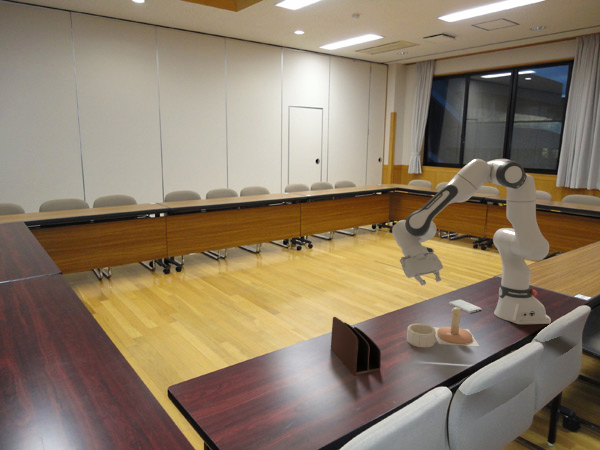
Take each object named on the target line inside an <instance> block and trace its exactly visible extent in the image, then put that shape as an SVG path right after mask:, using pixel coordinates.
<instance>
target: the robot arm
mask: <svg viewBox="0 0 600 450" xmlns="http://www.w3.org/2000/svg"><path fill="white" fill-rule="evenodd" d="M486 183H490V184H493V185H496V186H501V187H502V186H503V187H504V188H505V189H506V210H505V211H506V214H505V216H506V219H507V220H508V222H510V223H511V226H512V227H502V228H499V229H497V230H496V232H495V233H494V235H493V237H492V242H493V244H494V247H495V248H496V250H497V251H498V253H499V257H500V261H501V266H502V271H501V282H500V284H499V289H498V300H497V304H496V307H495V309H494V312H493V314H494V315H495V316H496V317H498V318H499V319H502V320H504V321H507V322H512V323H514V324H517V325H546V324H547V325H549V324H551V323H552V320H551V317H550V316H549V315H547V314H546V307H545V305H544V304H543V303H542V302H541V301H539V300H538V298H536V297H535V296H537V295H538V291H537V290H536V289H533V288H532V287H530V282H531V274H532V273H531V272H532V271H531V268H530V267H529V265H527V263H526V260H528V261H529V260H531V261H541V260H543V259H545V258H546V257H547V256H548V254H549V252H550V243H549V241H548V240H547V238H545V236H544V235H543V234H542V232H541V229H540V227H539V225H538V222H537V221H538V220H537V213H536V212H537V210H536V209H537V208H536V207H537V205H536V204H537V190H536V183H535V178H534V177H533V176H532V175H531V174H529V173H526V172H525V169H524V167H523V166H522V165H521V163H519V162H518V161H515V160H513V159H512V160H510V159H507V158H492V159H489V160H487V161H485V160H484V159H480V158H473V159H471V161H469V162H468V163H467V164H466V165H464V166H463V167H462V168H460V170H459V171H457V173H456V174H455V175H454V176H453V177H452V178H451V179H450V180H449V182H447V183H446V185H445V186H444V187H442V188H441V189H440V190H439V191H437V193H436V194H435V195H433V197H431V198H430V199H429V200H428V201H427V202H426V203H425V204H424V205H423V206H422V207H421V208H419V209H417V210H415V211H413V212H411V213H410V214H409V215H408V216H407V218H406V219H402V220H399V221H397V222H396V223H395V224H394V225H393V226H392V231H391V232H392V236H393V238H394V240H395V242H396V244H397V246H398V247H399V248H400V249H401V251H402V255H403V256H401V257H400V259H399V263H400V264H401V265H400V266H401V268H402V271H403V273H404V275H405V276H406V277H407V278H408V279H411V278H414V279H415V280H416V281H417V282H418V283H419V284H420V286H425V285H426V284H427V282H426V280H425V279H423V278H422V276H424V275H430V274H432V275H434V276H435V278H434V280H435V281H436V283H439V282H441V281H442V278H441V276H440V275H441V274H440V271H441V270H443V269H444V267H443V266H444V265H443V264H442V261H441V259H440V258H439V257H438V255H437V254H436V253H435V250H434V248H432V247H428V246H425V245H422V243H425V242H427V241H429V240H431V239H433V238H434V237H435V236H436V234H437V232H438V231H437V230H438V228H437V225H436V223H435V222H434V221H433V220H434V218H435V217H436V216H438V215H439V213H441V212H442V211H443V210H444V209H445V208H446V207H447V206H449V205H450V204H454V203H464V202H467V201H468V200H469V199H470V198H472V197H473V196H474V195H475V194H476V193H477V192H479V190H480V188H481V187H483V186H484V185H485V184H486Z"/></svg>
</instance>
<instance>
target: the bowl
mask: <svg viewBox="0 0 600 450" xmlns="http://www.w3.org/2000/svg"><path fill="white" fill-rule="evenodd" d="M433 327H434V326H431V325H429V324H426V323H411V324H409V325H408V326H407V329H406V341H407V343H408V344H410V345H411V346H414V347H418V348H431V347H433V346H434V345H436V344H435V343H436V337H435V335H436V331H435V329H434V328H433Z"/></svg>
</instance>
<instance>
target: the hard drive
mask: <svg viewBox="0 0 600 450" xmlns="http://www.w3.org/2000/svg"><path fill="white" fill-rule="evenodd" d="M448 305H449V306H452V307H454V306H455V307H458V308H459V309H460V310H461V311H464V312H466V313H468V314H472V313H476V311H477V312H479V310H481V311H482V310H483V308H482V307H480V306H478V305H474V304H472V303H470V302H468V301H465V300H463V299H456V300H451V301H449V302H448ZM455 307H454V308H455Z"/></svg>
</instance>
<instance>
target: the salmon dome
mask: <svg viewBox="0 0 600 450" xmlns="http://www.w3.org/2000/svg"><path fill="white" fill-rule="evenodd" d="M461 315H462V310H461V309H459V308H458V307H453V308H452V309H451V320H450V321H451V322H450V326H442V327H438V328H439V329H438V330H437V335H438V337H439V338H441V339H442V340H444V341H447V342H450V343H455V344H466V343H469V342H471V340H472V335H473V334H472V332H471V331H470V332H471V333H470V332H468V331H466V330H464V329H465V328H461V327H460V321H461Z"/></svg>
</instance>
